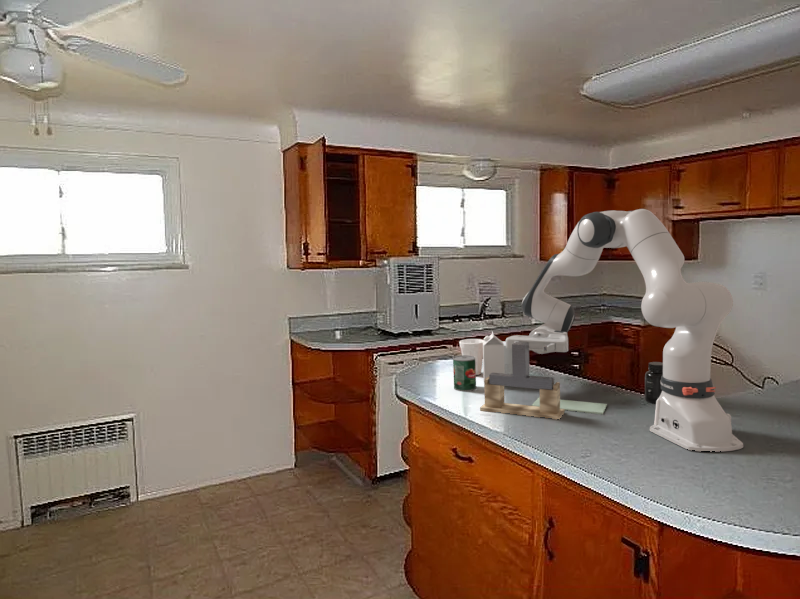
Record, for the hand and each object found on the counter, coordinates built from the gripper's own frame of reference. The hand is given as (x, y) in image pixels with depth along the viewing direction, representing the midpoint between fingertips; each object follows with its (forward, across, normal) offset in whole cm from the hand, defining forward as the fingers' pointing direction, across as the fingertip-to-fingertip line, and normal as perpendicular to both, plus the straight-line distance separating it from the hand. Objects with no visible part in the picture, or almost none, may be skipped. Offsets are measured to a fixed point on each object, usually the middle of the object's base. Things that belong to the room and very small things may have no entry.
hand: (531, 348), depth 175 cm
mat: (+2, +12, +17) cm, 21 cm away
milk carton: (-15, -18, +17) cm, 29 cm away
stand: (+12, 0, +17) cm, 21 cm away
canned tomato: (-6, -26, +17) cm, 32 cm away
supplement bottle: (-12, +36, +17) cm, 42 cm away
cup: (-26, -30, +17) cm, 43 cm away
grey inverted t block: (+12, 0, +9) cm, 15 cm away
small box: (-26, -16, +17) cm, 35 cm away
